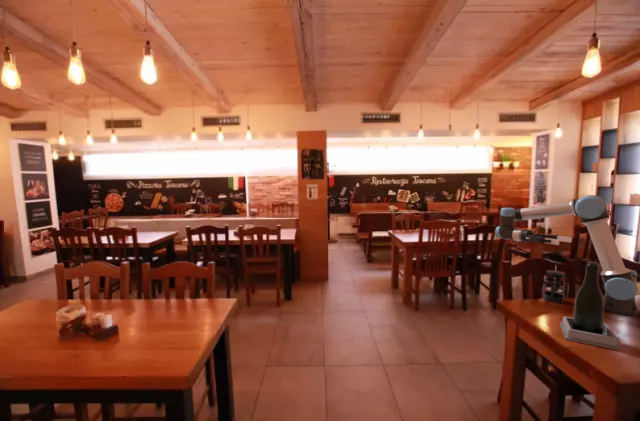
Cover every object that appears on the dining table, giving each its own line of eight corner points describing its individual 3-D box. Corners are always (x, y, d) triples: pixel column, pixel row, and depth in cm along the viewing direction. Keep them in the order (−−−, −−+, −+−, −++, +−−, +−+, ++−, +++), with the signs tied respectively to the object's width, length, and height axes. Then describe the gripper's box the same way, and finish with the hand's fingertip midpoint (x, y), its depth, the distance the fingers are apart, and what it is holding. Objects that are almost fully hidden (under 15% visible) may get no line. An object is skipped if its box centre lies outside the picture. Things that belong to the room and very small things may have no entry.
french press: (540, 299, 186) (543, 261, 184) (544, 295, 193) (547, 259, 191) (565, 305, 178) (568, 265, 176) (568, 301, 184) (571, 262, 182)
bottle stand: (608, 332, 146) (608, 323, 145) (620, 350, 130) (621, 340, 130) (559, 323, 155) (560, 315, 154) (565, 339, 139) (566, 329, 139)
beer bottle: (608, 338, 138) (615, 264, 135) (589, 340, 136) (596, 265, 133) (584, 327, 149) (589, 258, 146) (566, 329, 146) (571, 259, 143)
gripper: (534, 239, 193) (575, 245, 175) (510, 243, 180) (553, 250, 162) (534, 227, 192) (576, 232, 174) (511, 230, 180) (554, 236, 161)
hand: (565, 241), depth 168 cm, fingers open, 13 cm apart
